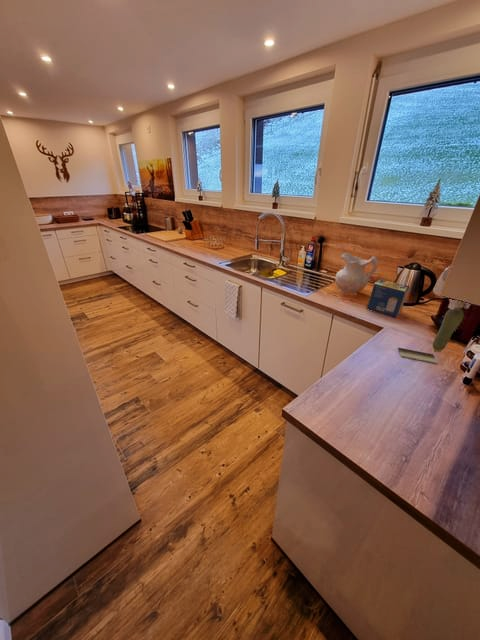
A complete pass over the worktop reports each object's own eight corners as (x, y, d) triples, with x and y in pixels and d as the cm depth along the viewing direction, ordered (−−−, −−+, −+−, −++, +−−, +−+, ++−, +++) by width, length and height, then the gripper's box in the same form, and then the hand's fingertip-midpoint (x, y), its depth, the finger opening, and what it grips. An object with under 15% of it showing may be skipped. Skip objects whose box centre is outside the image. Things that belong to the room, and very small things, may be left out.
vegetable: (429, 346, 90) (453, 292, 81) (444, 350, 89) (470, 295, 79) (430, 353, 87) (456, 297, 77) (446, 356, 85) (474, 300, 76)
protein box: (371, 303, 154) (379, 278, 147) (400, 312, 145) (410, 286, 138) (365, 309, 147) (373, 283, 140) (395, 318, 138) (405, 291, 131)
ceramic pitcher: (365, 290, 176) (374, 253, 165) (371, 300, 158) (382, 258, 148) (331, 287, 180) (338, 250, 169) (334, 295, 162) (342, 255, 152)
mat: (429, 349, 113) (430, 348, 113) (436, 364, 104) (437, 362, 104) (396, 342, 117) (396, 341, 117) (400, 356, 108) (401, 355, 107)
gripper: (457, 268, 69) (437, 315, 76) (519, 266, 73) (495, 310, 79) (437, 261, 74) (420, 305, 81) (496, 260, 78) (475, 302, 85)
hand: (457, 308), depth 80 cm, fingers closed on vegetable, 3 cm apart
